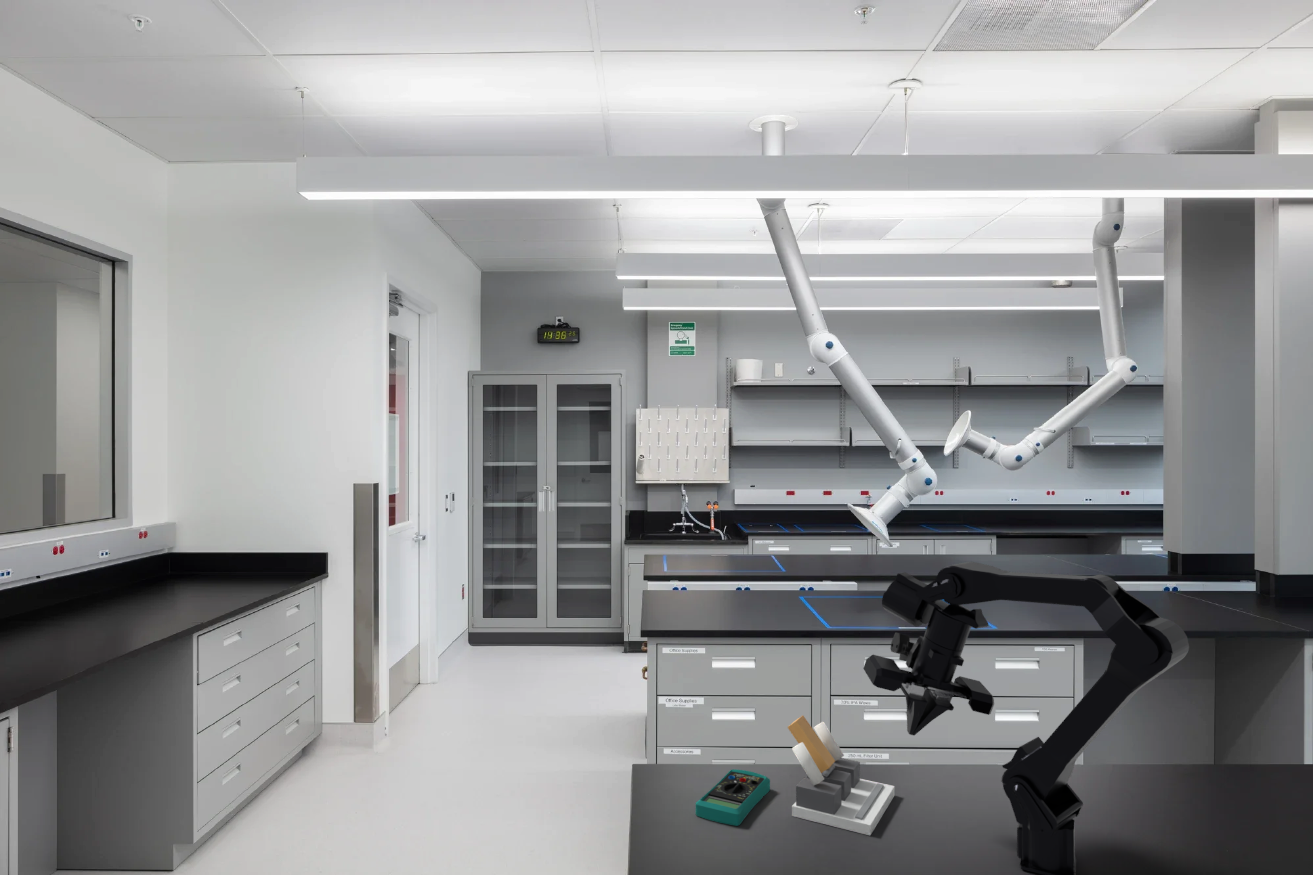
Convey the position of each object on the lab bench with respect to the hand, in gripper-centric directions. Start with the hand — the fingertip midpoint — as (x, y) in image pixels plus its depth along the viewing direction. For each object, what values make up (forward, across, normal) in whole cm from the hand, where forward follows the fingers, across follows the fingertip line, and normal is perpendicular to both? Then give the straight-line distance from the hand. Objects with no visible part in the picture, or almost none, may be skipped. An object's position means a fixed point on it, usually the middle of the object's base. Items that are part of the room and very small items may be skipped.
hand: (910, 733), depth 119 cm
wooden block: (+11, +9, -4) cm, 15 cm away
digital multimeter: (+20, +22, -3) cm, 30 cm away
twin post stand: (+15, +6, -1) cm, 16 cm away
